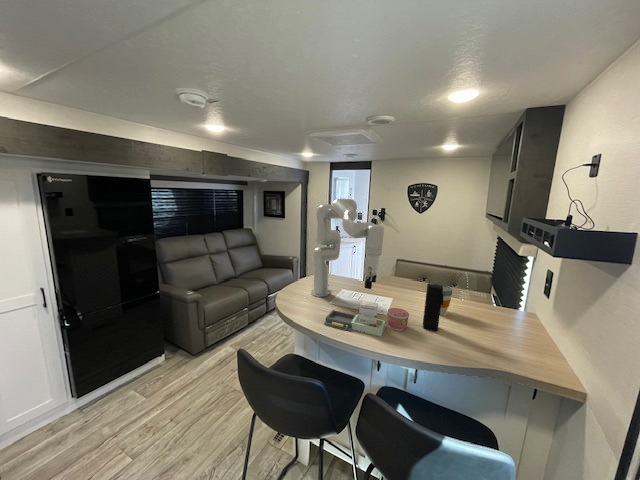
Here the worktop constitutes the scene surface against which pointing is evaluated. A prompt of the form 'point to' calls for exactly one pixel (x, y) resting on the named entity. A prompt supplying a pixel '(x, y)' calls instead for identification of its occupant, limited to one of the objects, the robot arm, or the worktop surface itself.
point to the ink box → (368, 313)
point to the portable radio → (432, 306)
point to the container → (397, 318)
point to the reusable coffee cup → (445, 298)
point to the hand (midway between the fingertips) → (370, 285)
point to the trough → (368, 329)
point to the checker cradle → (339, 320)
